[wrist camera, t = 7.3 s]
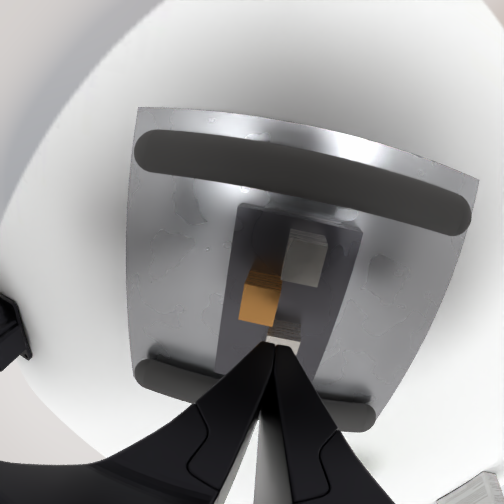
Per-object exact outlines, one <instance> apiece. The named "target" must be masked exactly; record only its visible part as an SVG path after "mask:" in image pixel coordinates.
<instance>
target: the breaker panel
mask: <svg viewBox="0 0 504 504" xmlns="http://www.w3.org/2000/svg"><path fill="white" fill-rule="evenodd" d="M155 129H161V130H174V131H186V132H196V133H205V134H214V135H222V136H230V137H237V138H244V139H251V140H257V141H263V142H269V143H275V144H280V145H286V146H291V147H296V148H301V149H306V150H310V151H315V152H320V153H324V154H328V155H333V156H337V157H341V158H345V159H349V160H353V161H357V162H361V163H364V164H368V165H372V166H375V167H379V168H382V169H386V170H389V171H393V172H396V173H399V174H402V175H406V176H409V177H412V178H415V179H418V180H421V181H424V182H427V183H430V184H433V185H436V186H438V187H441V188H444V189H447V190H449V191H452V192H455V193H457V194H459V195H461V196H463V197H464V198H465V199H466V201H467V202H468V204H469V206H470V209H471V214H472V210H473V206H474V202H475V198H476V193H477V189H478V184H479V180H478V179H476V178H474V177H471V176H469V175H467V174H464V173H462V172H460V171H457V170H455V169H452V168H450V167H447V166H445V165H442V164H440V163H437V162H434V161H432V160H429V159H426V158H423V157H421V156H418V155H415V154H412V153H409V152H406V151H403V150H400V149H397V148H394V147H391V146H387V145H384V144H381V143H377V142H374V141H370V140H367V139H363V138H359V137H356V136H352V135H348V134H344V133H340V132H336V131H332V130H327V129H323V128H318V127H314V126H309V125H304V124H299V123H294V122H288V121H283V120H277V119H271V118H264V117H258V116H251V115H243V114H235V113H227V112H217V111H207V110H194V109H179V108H154V107H138V112H137V119H136V126H135V133H134V140H133V148H132V157H131V167H130V178H129V191H128V207H127V231H126V285H127V310H128V326H129V339H130V349H131V359H132V368H133V376H134V377H135V374H134V371H135V367H136V365H137V364H138V363H139V362H140V361H142V360H144V359H153V360H156V361H159V362H162V363H165V364H169V365H172V366H175V367H178V368H182V369H185V370H188V371H192V372H195V373H199V374H202V375H206V376H210V377H214V378H218V379H221V378H222V377H223V376H224V375H226V374H227V373H228V372H229V371H230V370H231V369H232V368H233V367H234V366H235V365H236V364H237V363H239V362H240V361H241V360H242V359H243V358H244V357H245V356H246V355H247V354H248V353H249V352H250V351H251V350H252V349H253V348H254V347H255V346H256V345H257V344H258V343H260V342H261V341H265V342H270V343H274V344H275V346H276V345H277V344H280V345H285V346H290V347H291V348H292V350H293V352H294V354H295V355H296V357H297V359H298V360H299V362H300V364H301V366H302V367H303V369H304V371H305V372H306V374H307V376H308V378H309V379H310V381H311V383H312V384H313V386H314V388H315V389H316V391H317V393H318V395H319V396H320V398H321V399H327V400H335V401H344V402H353V403H364V404H368V405H370V406H371V407H373V409H374V410H375V412H376V419H377V418H378V416H379V415H380V413H381V412H382V410H383V409H384V407H385V406H386V404H387V403H388V401H389V400H390V398H391V397H392V395H393V393H394V392H395V390H396V389H397V387H398V385H399V384H400V382H401V380H402V379H403V377H404V375H405V374H406V372H407V370H408V368H409V367H410V365H411V363H412V361H413V359H414V358H415V356H416V354H417V352H418V350H419V348H420V346H421V344H422V342H423V340H424V338H425V336H426V334H427V332H428V330H429V328H430V326H431V324H432V322H433V320H434V317H435V315H436V313H437V311H438V309H439V306H440V304H441V302H442V299H443V297H444V294H445V292H446V290H447V287H448V285H449V282H450V279H451V277H452V274H453V271H454V269H455V266H456V263H457V260H458V257H459V254H460V251H461V248H462V245H463V242H464V239H465V235H466V232H467V230H466V231H465V232H463V233H462V234H460V235H458V236H448V235H444V234H441V233H438V232H434V231H431V230H428V229H424V228H421V227H417V226H414V225H410V224H407V223H403V222H399V221H396V220H392V219H388V218H384V217H380V216H377V215H373V214H369V213H365V212H361V211H357V210H353V209H348V208H344V207H340V206H336V205H331V204H327V203H322V202H318V201H313V200H309V199H304V198H299V197H295V196H290V195H285V194H280V193H275V192H270V191H265V190H259V189H254V188H249V187H243V186H237V185H232V184H226V183H220V182H214V181H207V180H201V179H195V178H188V177H181V176H174V175H167V174H159V173H152V172H147V171H145V170H143V169H142V168H141V167H140V166H139V165H138V164H137V162H136V160H135V157H134V147H135V144H136V142H137V140H138V139H139V137H140V136H142V135H143V134H144V133H146V132H147V131H150V130H155ZM467 229H468V228H467Z"/></svg>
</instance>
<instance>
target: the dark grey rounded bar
mask: <svg viewBox="0 0 504 504" xmlns="http://www.w3.org/2000/svg"><path fill="white" fill-rule="evenodd" d="M134 157H135V160H136V162H137V164H138V165H139V166H140V167H141V168H142V169H143V170H145V171H147V172H152V173H159V174H167V175H174V176H181V177H188V178H195V179H201V180H207V181H214V182H220V183H226V184H232V185H237V186H243V187H249V188H254V189H259V190H265V191H270V192H275V193H280V194H285V195H290V196H295V197H299V198H304V199H309V200H313V201H318V202H322V203H327V204H331V205H336V206H340V207H344V208H348V209H353V210H357V211H361V212H365V213H369V214H373V215H377V216H380V217H384V218H388V219H392V220H396V221H399V222H403V223H407V224H410V225H414V226H417V227H421V228H424V229H428V230H431V231H434V232H438V233H441V234H444V235H448V236H458V235H460V234H462V233H463V232H465V231H466V230H467V228H468V227H469V225H470V222H471V209H470V206H469V204H468V202H467V201H466V199H465V198H464V197H463V196H461V195H459V194H457V193H455V192H452V191H449V190H447V189H444V188H441V187H438V186H436V185H433V184H430V183H427V182H424V181H421V180H418V179H415V178H412V177H409V176H406V175H402V174H399V173H396V172H393V171H389V170H386V169H382V168H379V167H375V166H372V165H368V164H364V163H361V162H357V161H353V160H349V159H345V158H341V157H337V156H333V155H328V154H324V153H320V152H315V151H310V150H306V149H301V148H296V147H291V146H286V145H280V144H275V143H269V142H263V141H257V140H251V139H244V138H237V137H230V136H222V135H214V134H205V133H196V132H186V131H174V130H161V129H155V130H150V131H147V132H146V133H144V134H143V135H142V136H140V137H139V139H138V140H137V142H136V144H135V147H134Z"/></svg>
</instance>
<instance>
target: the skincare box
mask: <svg viewBox="0 0 504 504" xmlns="http://www.w3.org/2000/svg"><path fill="white" fill-rule="evenodd" d="M437 504H504V497H503V494H502V490H501V487H500V485H499V482H498V479H497V476H496V474H493V473H488V472H482V473H480V474H479V475H477V476H476V477H475V478H473V479H472V480H470V481H469V482H467V483H466V484H464V485H463V486H461V487H460V488H458V489H456V490H455V491H453V492H451V493H450V494H448V495H446V496H445V497H443V498H441V499H439V500H438V501H437Z"/></svg>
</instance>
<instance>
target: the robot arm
mask: <svg viewBox="0 0 504 504" xmlns="http://www.w3.org/2000/svg"><path fill="white" fill-rule="evenodd" d="M19 355H21V356H22V357H24V358H25V359H27V360H30V359H31V358H32V356H31V353H30V350H29V347H28V344H27V340H26V337H25V334H24V330H23V327H22V323H21V320H20V316H19V312H18V308H17V305H16V304H15V302H13V301H12V300H10V299H8V298H7V297H5V296H3V295H2V294H0V372H1V371H3V370H4V369H5V368H6V367H7V366H8V365H9V364H10V363H11V362H13V361H14V360H15V359H16V358H17V357H18V356H19ZM260 411H261V412H260ZM259 414H260V420H259V434H258V449H257V463H256V477H255V490H254V503H253V504H395V503H394V502H393V501H392V499H391V498H390V497H389V496H388V495H387V494H386V492H385V491H384V490H383V489H382V488H381V486H380V485H379V484H378V483H377V482H376V480H375V479H374V478H373V477H372V475H371V474H370V473H369V472H368V471H367V469H366V468H365V467H364V465H363V464H362V463H361V461H360V460H359V459H358V458H357V456H356V455H355V453H354V452H353V450H352V449H351V447H350V446H349V444H348V443H347V441H346V440H345V438H344V436H343V435H342V433H341V431H340V430H338V426H337V425H336V423H335V421H334V420H333V418H332V416H331V415H330V413H329V411H328V410H327V408H326V406H325V405H324V403H323V401H322V400H321V398H320V396H319V395H318V393H317V391H316V389H315V388H314V386H313V384H312V383H311V381H310V379H309V378H308V376H307V374H306V372H305V371H304V369H303V367H302V366H301V364H300V362H299V360H298V359H297V357H296V355H295V354H294V352H293V350H292V348H291V347H290V346H285V345H280V344H277V345H276V346H275V344H274V343H270V342H265V341H261V342H260V343H258V344H257V345H256V346H255V347H254V348H253V349H252V350H251V351H250V352H249V353H248V354H247V355H246V356H245V357H244V358H243V359H242V360H241V361H240V362H239V363H237V364H236V365H235V366H234V367H233V368H232V369H231V370H230V371H229V372H228V373H227V374H226V375H224V376H223V377H222V378H221V379H220V380H219V381H218V382H217V383H216V384H215V385H213V386H212V387H211V388H210V389H209V390H208V391H207V392H206V393H204V394H203V395H202V396H201V397H200V398H199V399H198V400H196V401H195V404H194V403H193V404H192V405H190V406H189V407H188V408H187V409H186V410H185V411H183V412H182V413H181V414H180V415H178V416H177V417H176V418H174V419H173V420H172V421H170V422H169V423H168V424H166V425H165V426H163V427H161V428H160V429H158V430H157V431H155V432H154V433H152V434H150V435H148V436H147V437H145V438H143V439H142V440H140V441H138V442H136V443H134V444H133V445H131V446H129V447H127V448H125V449H123V450H122V451H120V452H118V453H116V454H114V455H112V456H110V457H108V458H106V459H103V460H101V461H97V462H94V463H89V464H82V465H81V464H79V465H38V464H20V463H10V462H4V461H0V504H224V502H225V500H226V498H227V495H228V493H229V491H230V488H231V486H232V484H233V481H234V479H235V477H236V474H237V472H238V469H239V467H240V464H241V462H242V459H243V457H244V454H245V452H246V449H247V447H248V444H249V442H250V439H251V437H252V434H253V431H254V429H255V426H256V423H257V421H258V417H259Z"/></svg>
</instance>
